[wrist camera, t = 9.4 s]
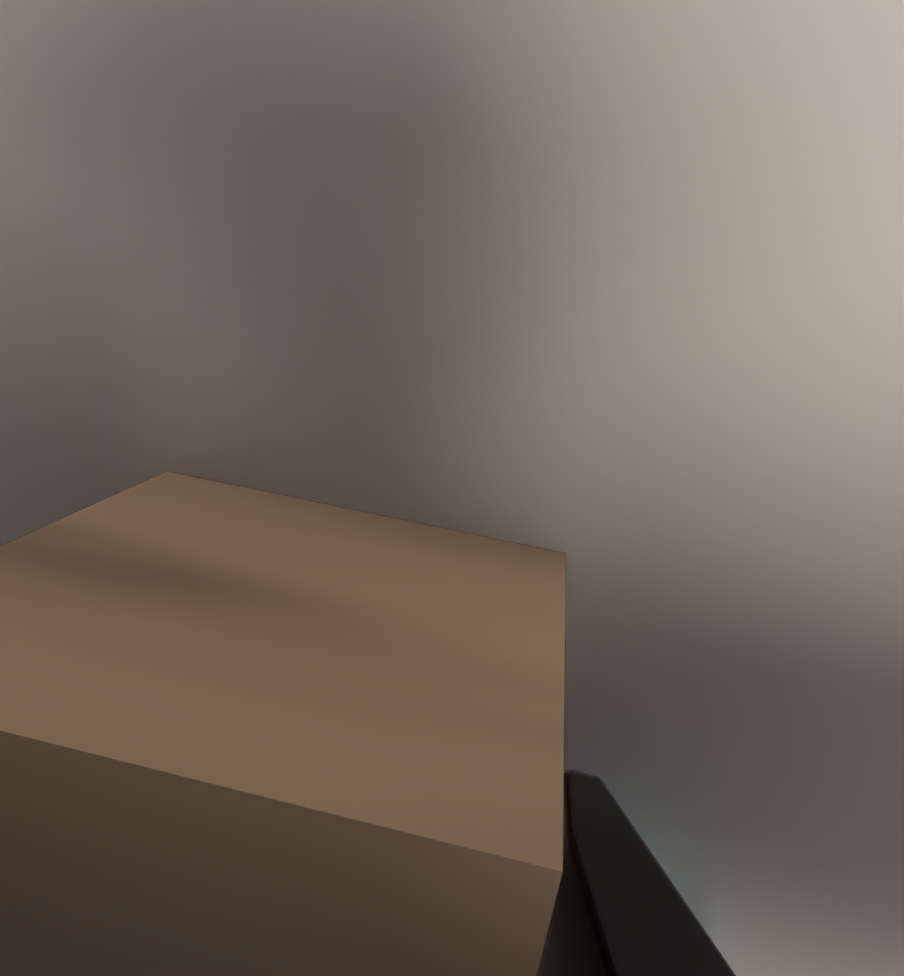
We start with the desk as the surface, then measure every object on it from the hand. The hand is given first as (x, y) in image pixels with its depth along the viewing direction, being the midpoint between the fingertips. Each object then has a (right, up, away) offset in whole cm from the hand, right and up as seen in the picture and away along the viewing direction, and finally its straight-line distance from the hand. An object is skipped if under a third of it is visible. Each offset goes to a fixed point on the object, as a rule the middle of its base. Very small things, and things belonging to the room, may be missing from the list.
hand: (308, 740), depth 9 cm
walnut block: (0, 0, +1) cm, 1 cm away
